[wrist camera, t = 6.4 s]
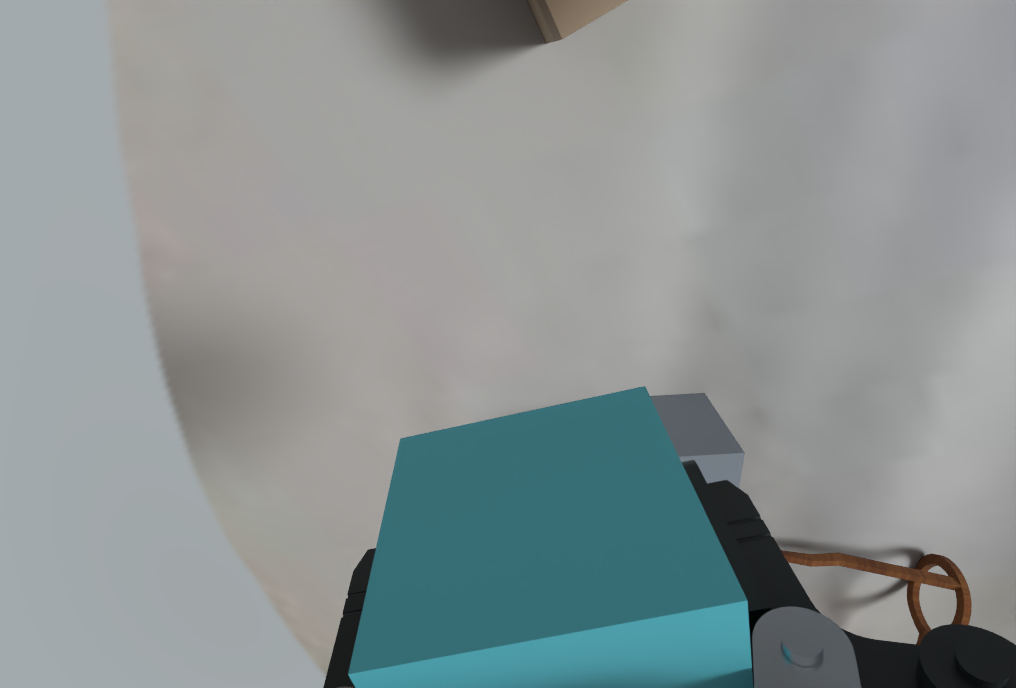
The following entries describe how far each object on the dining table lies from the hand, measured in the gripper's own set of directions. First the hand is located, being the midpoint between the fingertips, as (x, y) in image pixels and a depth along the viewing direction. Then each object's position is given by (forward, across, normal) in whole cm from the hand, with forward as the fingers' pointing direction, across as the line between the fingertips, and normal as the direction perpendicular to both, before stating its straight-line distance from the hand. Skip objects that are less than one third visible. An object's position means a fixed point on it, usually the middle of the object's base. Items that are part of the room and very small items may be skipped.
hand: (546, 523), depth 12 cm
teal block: (0, 0, 0) cm, 0 cm away
